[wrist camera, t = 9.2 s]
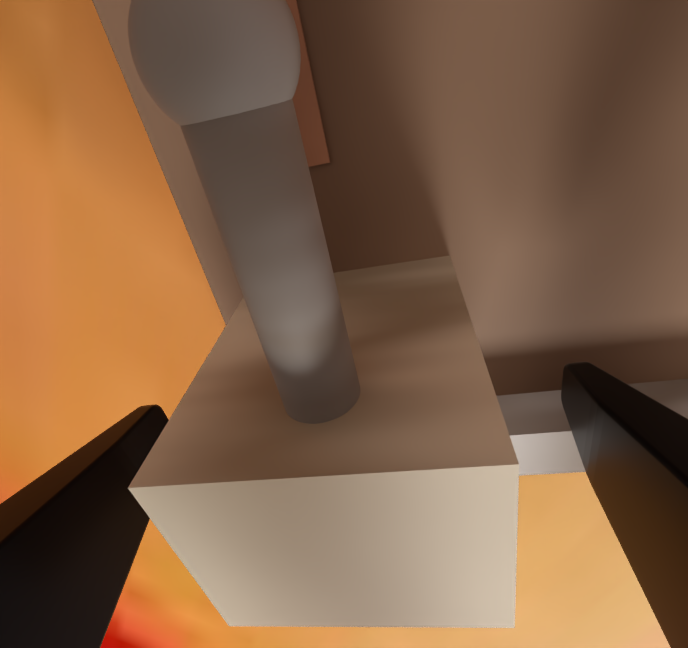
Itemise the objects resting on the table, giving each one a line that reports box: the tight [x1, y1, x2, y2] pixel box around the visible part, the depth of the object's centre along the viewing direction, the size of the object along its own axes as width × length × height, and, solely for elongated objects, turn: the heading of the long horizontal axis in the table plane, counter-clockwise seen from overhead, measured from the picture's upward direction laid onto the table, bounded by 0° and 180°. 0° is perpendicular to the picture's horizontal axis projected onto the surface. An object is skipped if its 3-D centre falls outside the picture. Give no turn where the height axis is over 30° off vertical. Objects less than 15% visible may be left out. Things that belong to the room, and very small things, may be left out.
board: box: [92, 0, 688, 475], centre depth 9 cm, size 20×13×4 cm, turn 102°
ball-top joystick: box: [128, 0, 519, 628], centre depth 7 cm, size 5×9×6 cm, turn 12°
